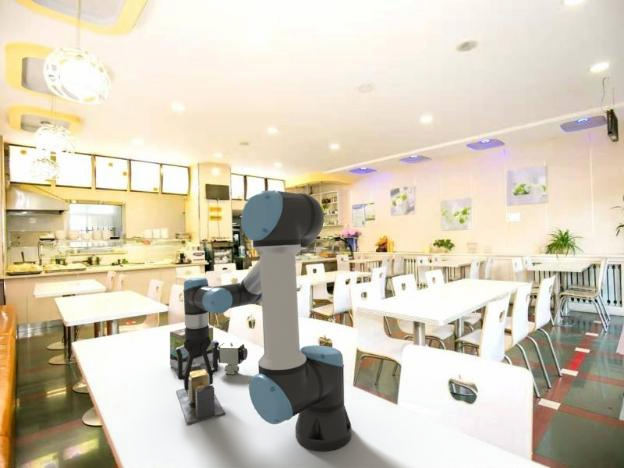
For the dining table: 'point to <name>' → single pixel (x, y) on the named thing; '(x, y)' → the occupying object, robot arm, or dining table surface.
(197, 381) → the gold metallic block
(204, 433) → the dining table surface
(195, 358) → the tea box
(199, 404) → the base
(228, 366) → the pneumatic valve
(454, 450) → the dining table surface
